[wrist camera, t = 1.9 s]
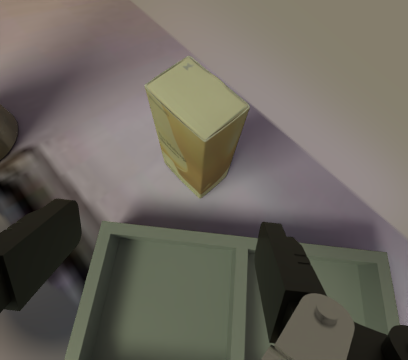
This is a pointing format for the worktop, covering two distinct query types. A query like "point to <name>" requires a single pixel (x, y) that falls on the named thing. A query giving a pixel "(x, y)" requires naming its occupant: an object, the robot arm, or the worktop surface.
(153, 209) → the worktop surface
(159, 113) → the skincare box
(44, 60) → the worktop surface
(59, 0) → the worktop surface
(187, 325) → the carton tray
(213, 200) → the worktop surface
